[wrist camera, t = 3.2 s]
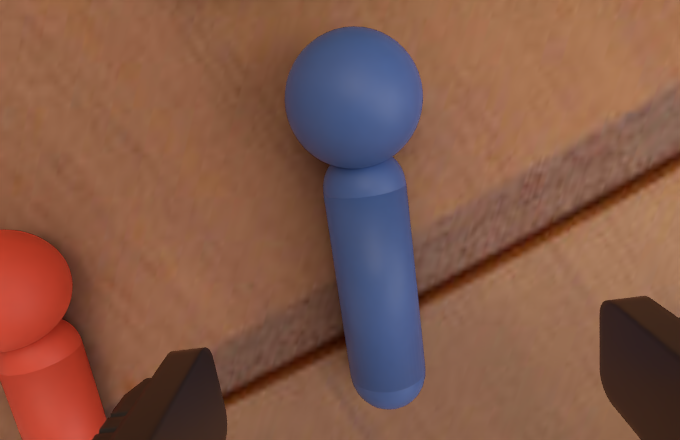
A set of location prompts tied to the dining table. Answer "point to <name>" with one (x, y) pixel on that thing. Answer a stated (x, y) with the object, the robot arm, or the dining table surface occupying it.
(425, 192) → the dining table surface
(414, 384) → the blue massage wand
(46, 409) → the red ball-tipped rod
